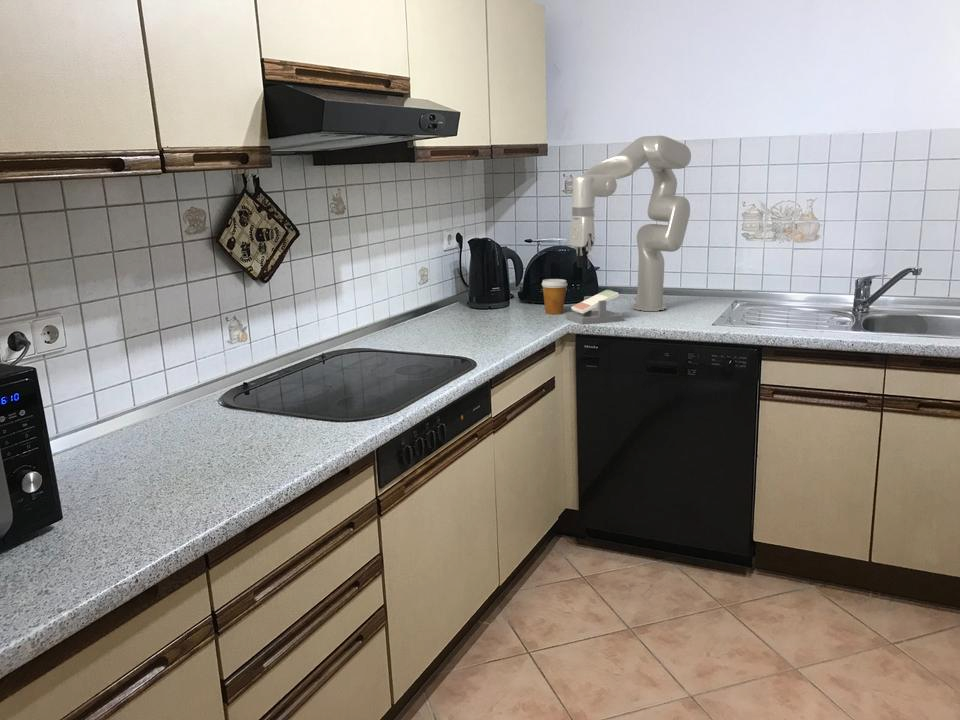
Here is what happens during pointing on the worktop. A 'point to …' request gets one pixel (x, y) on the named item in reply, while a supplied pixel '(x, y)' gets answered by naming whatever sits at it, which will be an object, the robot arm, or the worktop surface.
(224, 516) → the worktop surface
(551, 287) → the disposable coffee cup
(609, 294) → the breaker rocker
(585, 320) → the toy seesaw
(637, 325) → the worktop surface
